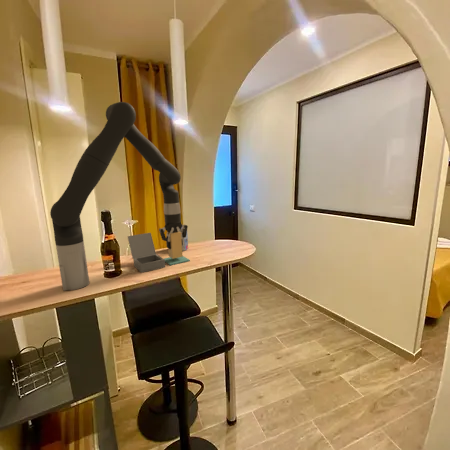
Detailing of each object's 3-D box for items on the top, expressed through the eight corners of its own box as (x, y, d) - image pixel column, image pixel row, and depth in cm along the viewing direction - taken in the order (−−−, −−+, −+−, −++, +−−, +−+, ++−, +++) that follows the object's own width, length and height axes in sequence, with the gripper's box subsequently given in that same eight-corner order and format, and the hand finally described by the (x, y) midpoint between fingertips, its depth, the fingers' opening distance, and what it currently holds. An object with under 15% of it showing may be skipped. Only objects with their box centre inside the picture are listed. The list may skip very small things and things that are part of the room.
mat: (170, 265, 125) (170, 264, 125) (162, 260, 133) (162, 258, 133) (189, 261, 130) (189, 259, 130) (181, 256, 138) (181, 254, 138)
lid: (127, 235, 129) (127, 237, 130) (133, 258, 126) (132, 259, 127) (150, 232, 135) (149, 233, 136) (156, 253, 132) (155, 254, 133)
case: (141, 272, 117) (140, 264, 117) (134, 265, 126) (133, 258, 126) (165, 267, 123) (164, 259, 122) (157, 260, 132) (156, 253, 132)
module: (172, 258, 128) (170, 233, 125) (168, 256, 132) (166, 232, 130) (182, 256, 130) (180, 232, 128) (178, 254, 135) (176, 230, 132)
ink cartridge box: (188, 248, 152) (187, 222, 149) (185, 251, 147) (183, 224, 144) (172, 247, 154) (170, 222, 151) (168, 250, 149) (166, 224, 146)
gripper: (160, 215, 120) (163, 252, 123) (189, 211, 128) (192, 246, 131) (154, 213, 126) (157, 248, 130) (183, 210, 134) (185, 243, 137)
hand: (175, 247), depth 130 cm, fingers closed on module, 5 cm apart
